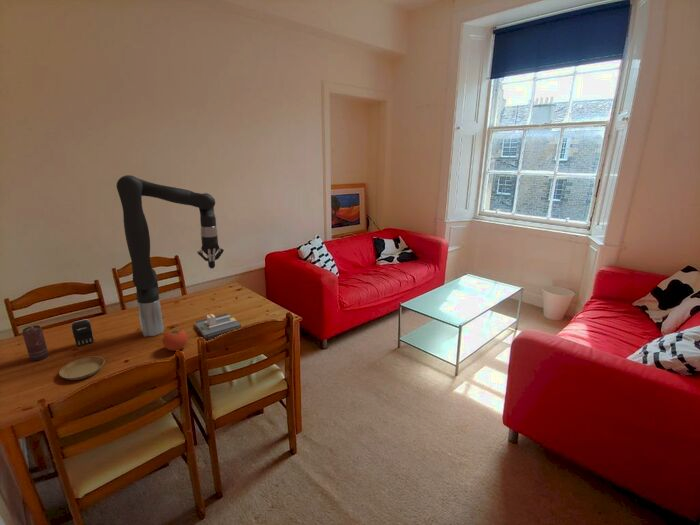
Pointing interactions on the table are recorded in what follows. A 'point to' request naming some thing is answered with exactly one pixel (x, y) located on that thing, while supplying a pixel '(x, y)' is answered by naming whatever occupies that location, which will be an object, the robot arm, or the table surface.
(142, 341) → the table surface
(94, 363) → the plant saucer
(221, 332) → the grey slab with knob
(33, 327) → the can
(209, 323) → the breaker lever
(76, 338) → the battery charger
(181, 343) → the tomato
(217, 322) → the panel
